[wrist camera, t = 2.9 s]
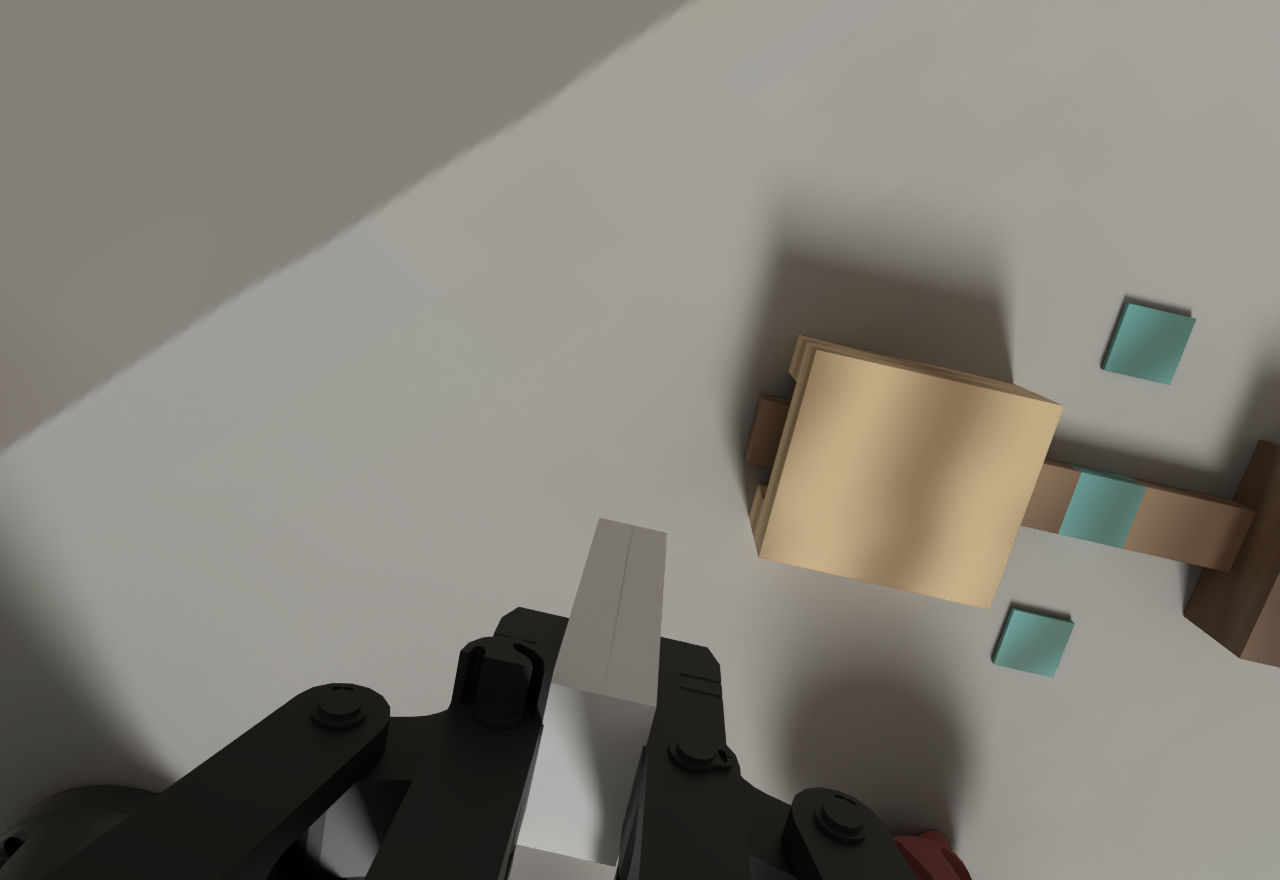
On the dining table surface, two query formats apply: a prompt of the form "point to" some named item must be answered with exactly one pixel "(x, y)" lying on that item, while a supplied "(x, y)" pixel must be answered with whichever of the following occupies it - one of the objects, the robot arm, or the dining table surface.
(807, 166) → the dining table surface
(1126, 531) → the wooden block assembly
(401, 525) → the dining table surface
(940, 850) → the mechanical component
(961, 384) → the light wooden box
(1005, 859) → the dining table surface
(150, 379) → the dining table surface
